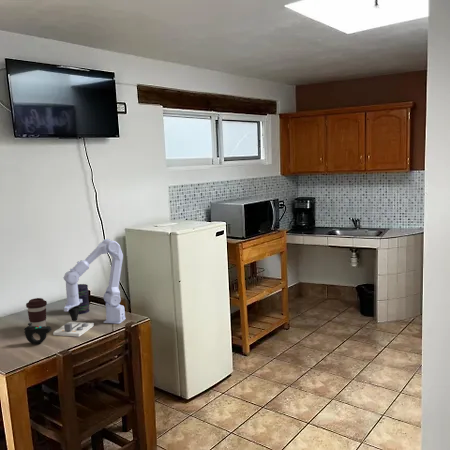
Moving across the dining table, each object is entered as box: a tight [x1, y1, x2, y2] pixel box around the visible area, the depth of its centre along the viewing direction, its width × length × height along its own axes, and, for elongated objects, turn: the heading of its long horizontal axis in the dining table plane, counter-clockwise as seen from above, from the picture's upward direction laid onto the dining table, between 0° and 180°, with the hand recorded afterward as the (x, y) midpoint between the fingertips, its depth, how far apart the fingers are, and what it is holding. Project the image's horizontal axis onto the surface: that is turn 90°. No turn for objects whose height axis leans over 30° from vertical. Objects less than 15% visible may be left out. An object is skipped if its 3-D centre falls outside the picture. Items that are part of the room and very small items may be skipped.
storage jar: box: [77, 283, 90, 315], centre depth 263 cm, size 10×10×15 cm
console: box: [52, 321, 95, 338], centre depth 234 cm, size 14×15×2 cm
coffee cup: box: [25, 297, 48, 326], centre depth 239 cm, size 10×10×15 cm
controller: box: [24, 322, 53, 345], centre depth 218 cm, size 4×12×10 cm, turn 91°
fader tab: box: [63, 322, 72, 331], centre depth 229 cm, size 3×2×4 cm, turn 78°
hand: (74, 320), depth 235 cm, fingers closed
